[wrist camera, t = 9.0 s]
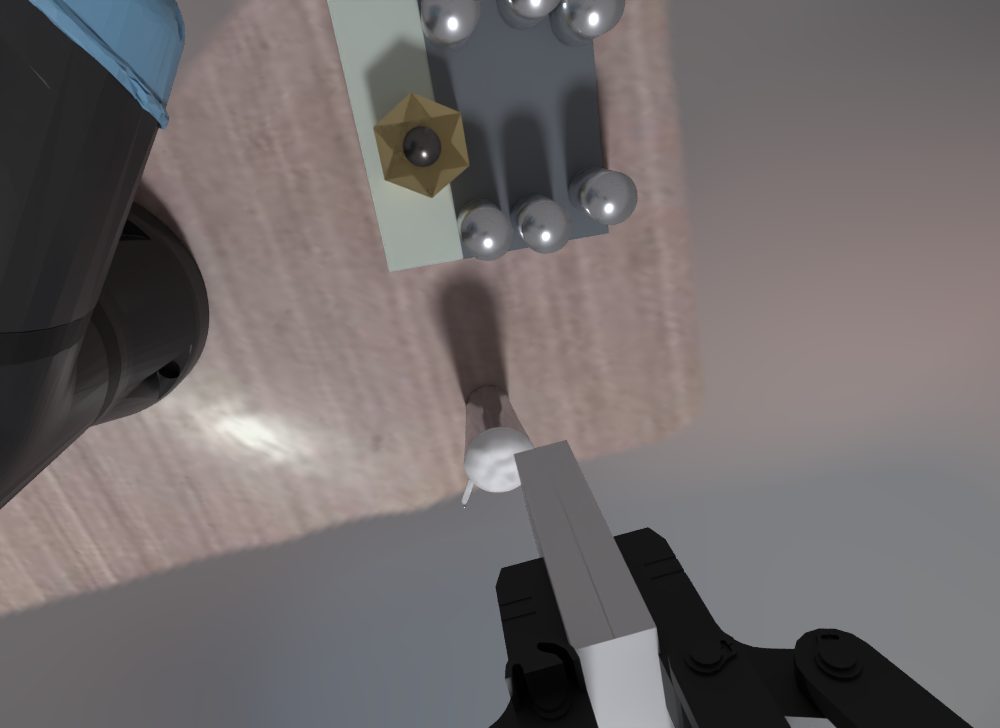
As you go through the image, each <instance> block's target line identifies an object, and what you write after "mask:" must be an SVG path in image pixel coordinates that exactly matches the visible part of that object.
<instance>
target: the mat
mask: <svg viewBox="0 0 1000 728" xmlns="http://www.w3.org/2000/svg"><path fill="white" fill-rule="evenodd" d="M327 2H328V6H329V10H330V15H331V19H332V23H333V28H334V32H335V36H336V41H337V45H338V49H339V54H340V58H341V63H342V67H343V71H344V76H345V80H346V84H347V89H348V93H349V97H350V102H351V106H352V110H353V115H354V119H355V124H356V128H357V132H358V137H359V141H360V145H361V150H362V154H363V158H364V163H365V167H366V171H367V176H368V180H369V185H370V189H371V193H372V198H373V202H374V206H375V211H376V215H377V219H378V224H379V228H380V232H381V237H382V241H383V246H384V250H385V254H386V259H387V263H388V267H389V272H392V271H397V270H403V269H408V268H414V267H420V266H425V265H431V264H436V263H442V262H448V261H453V260H459V259H466V258H472V257H473V256H472V255H471V254H470V253H469V252H468V251H467V250H466V248H465V246H464V244H463V241H462V238H461V235H460V232H459V230H458V225H457V219H458V214H459V212H460V210H461V208H462V207H463V206H464V205H465V204H466V203H467V202H469V201H471V200H474V199H486V200H489V201H491V202H493V203H494V204H495V205H496V206H497V207H498V208H499V209H500V210H501V211H502V212H503V213H504V214H505V215H506V217H507V218H508V219H509V221H510V222H511V220H510V213H511V209H512V206H513V204H514V203H515V201H516V200H517V199H518V198H519V197H521V196H522V195H524V194H527V193H540V194H542V195H544V196H546V197H548V198H550V199H551V200H553V201H555V202H557V203H558V204H560V205H562V206H563V207H564V208H565V209H566V210H567V211H568V213H569V214H570V217H571V220H572V233H571V236H570V238H569V240H572V239H578V238H583V237H589V236H594V235H600V234H606V233H609V231H608V225H606V224H602V223H600V222H598V221H596V220H594V219H592V218H591V217H589V216H587V215H585V214H583V213H581V212H580V211H578V210H576V209H575V208H574V207H573V206H572V204H571V203H570V200H569V197H568V186H569V182H570V180H571V178H572V177H573V175H574V174H575V173H576V172H577V171H579V170H580V169H582V168H584V167H589V166H595V167H599V168H603V158H602V146H601V134H600V122H599V110H598V98H597V86H596V74H595V62H594V50H593V39H592V40H590V41H588V42H586V43H584V44H582V45H580V46H567V45H565V44H563V43H561V42H560V41H559V40H558V39H557V38H556V37H555V36H554V34H553V32H552V30H551V27H550V20H549V17H550V13H549V14H548V15H547V16H545V17H544V18H543V19H542V20H541V21H540V22H539V23H538V24H536V25H535V26H534V27H532V28H530V29H526V30H518V29H514V28H512V27H510V26H508V25H507V24H506V23H505V22H504V21H503V20H502V18H501V16H500V15H499V12H498V9H497V4H496V0H480V6H481V9H480V16H479V20H478V22H477V25H476V26H475V28H474V30H473V32H472V34H471V36H470V38H469V40H468V41H467V43H466V44H465V45H464V46H462V47H461V48H459V49H457V50H454V51H442V50H439V49H437V48H435V47H434V46H433V45H432V44H431V43H430V42H429V41H428V40H427V38H426V37H425V35H424V32H423V29H422V24H421V0H327ZM411 92H412V93H415V94H417V95H420V96H422V97H424V98H427V99H429V100H432V101H434V102H436V103H439V104H441V105H443V106H446V107H448V108H451V109H453V110H455V111H458V112H460V113H461V118H462V124H463V130H464V136H465V142H466V148H467V154H468V160H469V167H467V168H466V169H465V170H464V171H463V172H462V173H461V174H459V175H458V176H457V177H456V178H455V179H454V180H452V181H451V182H450V183H449V184H448V185H447V186H446V187H444V188H443V189H442V190H441V191H440V192H439V193H437V194H436V195H435V196H434V197H433V198H430V197H427V196H425V195H422V194H420V193H417V192H414V191H412V190H409V189H406V188H404V187H401V186H399V185H396V184H393V183H391V182H388V181H385V180H384V175H383V171H382V166H381V162H380V157H379V152H378V148H377V143H376V139H375V134H374V130H373V127H374V126H375V125H376V124H377V123H378V122H379V121H380V120H382V119H383V118H384V117H385V116H386V115H387V114H388V113H389V112H390V111H391V110H393V109H394V108H395V107H396V106H397V105H398V104H399V103H400V102H401V101H402V100H403V99H405V98H406V97H407V96H408V95H409V94H410V93H411ZM511 225H512V224H511ZM512 228H513V227H512ZM527 247H529V246H528V245H527V244H526V243H525V242H524V240H523V239H522V238H521V237H520V236H519V235H518V234H517V232H516V231H515V230H514V229H513V241H512V244H511V246H510V248H509V249H508V251H511V250H516V249H522V248H527Z"/></svg>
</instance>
